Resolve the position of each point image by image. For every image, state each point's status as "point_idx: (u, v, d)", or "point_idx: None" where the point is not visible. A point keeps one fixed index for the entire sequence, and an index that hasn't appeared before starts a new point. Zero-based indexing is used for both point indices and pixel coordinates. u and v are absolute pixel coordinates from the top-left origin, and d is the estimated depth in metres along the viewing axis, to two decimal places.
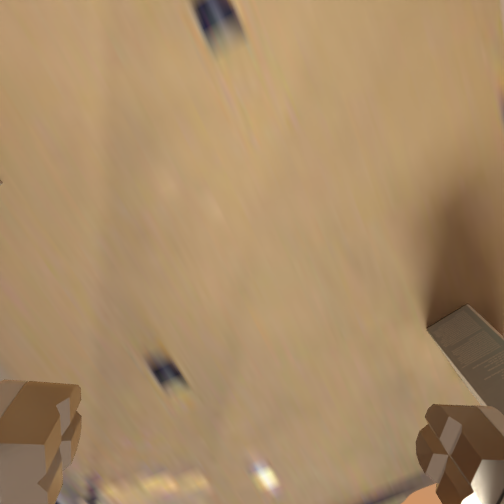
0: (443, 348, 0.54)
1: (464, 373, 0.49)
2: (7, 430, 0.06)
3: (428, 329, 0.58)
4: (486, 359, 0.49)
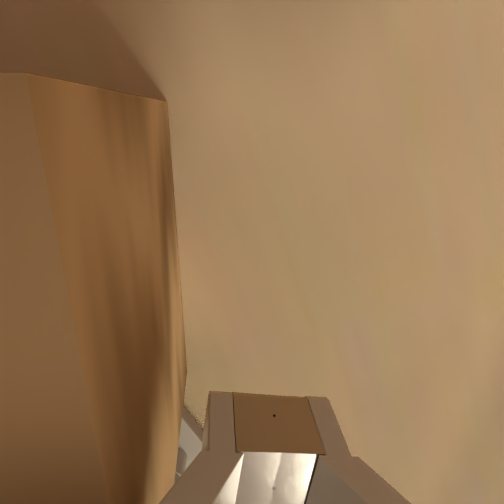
0: None
1: None
2: (248, 439, 0.07)
3: None
4: None
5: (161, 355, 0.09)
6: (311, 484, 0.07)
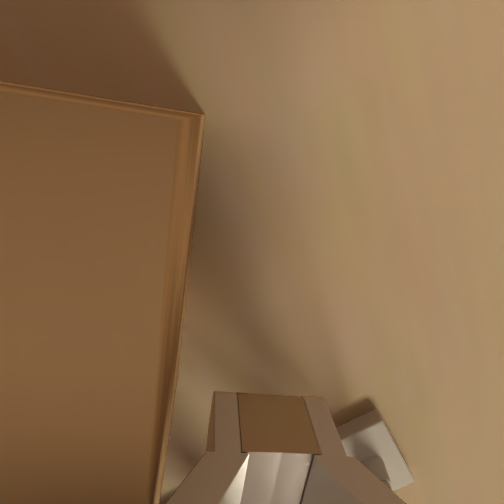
0: None
1: None
2: (253, 439, 0.07)
3: None
4: None
5: (173, 365, 0.09)
6: (306, 484, 0.07)
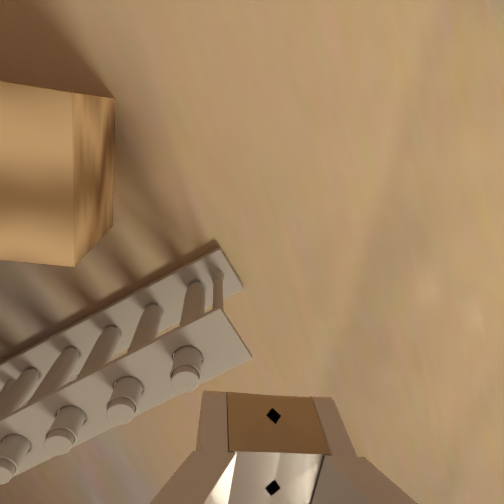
0: None
1: None
2: (241, 439, 0.07)
3: None
4: None
5: (95, 186, 0.25)
6: (316, 484, 0.07)
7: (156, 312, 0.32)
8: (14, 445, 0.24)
